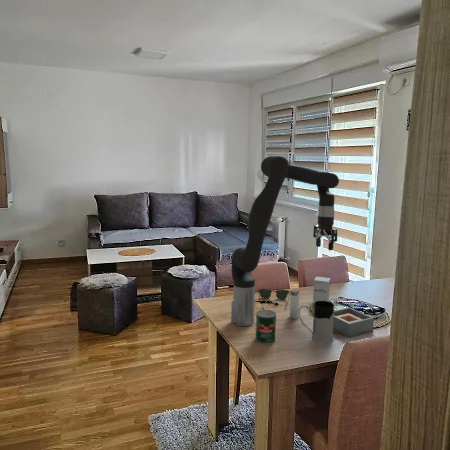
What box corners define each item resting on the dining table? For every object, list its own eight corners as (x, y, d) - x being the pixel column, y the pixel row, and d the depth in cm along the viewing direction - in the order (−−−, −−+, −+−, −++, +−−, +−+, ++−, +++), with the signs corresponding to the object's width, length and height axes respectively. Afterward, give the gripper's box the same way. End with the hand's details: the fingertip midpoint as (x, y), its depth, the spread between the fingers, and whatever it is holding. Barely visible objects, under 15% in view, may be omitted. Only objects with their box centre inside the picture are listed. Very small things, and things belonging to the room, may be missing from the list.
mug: (334, 345, 158) (336, 308, 155) (297, 342, 160) (299, 306, 158) (332, 335, 166) (334, 300, 164) (297, 333, 168) (298, 298, 166)
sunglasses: (256, 309, 196) (257, 299, 195) (257, 298, 213) (257, 288, 212) (291, 311, 194) (291, 301, 194) (289, 299, 211) (289, 290, 210)
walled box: (348, 337, 164) (349, 323, 163) (324, 325, 177) (325, 312, 176) (372, 331, 171) (373, 317, 170) (348, 319, 183) (349, 307, 182)
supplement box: (312, 304, 203) (313, 279, 201) (314, 299, 210) (315, 276, 208) (327, 306, 200) (328, 281, 198) (329, 301, 207) (330, 277, 205)
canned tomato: (261, 345, 157) (262, 318, 155) (252, 337, 164) (252, 311, 162) (279, 341, 160) (279, 315, 158) (269, 334, 167) (269, 308, 166)
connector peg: (293, 319, 183) (294, 293, 181) (287, 316, 187) (288, 291, 185) (300, 317, 185) (301, 292, 183) (294, 314, 189) (295, 290, 187)
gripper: (310, 213, 198) (308, 246, 200) (330, 217, 185) (328, 252, 188) (321, 213, 201) (320, 245, 204) (342, 216, 189) (340, 250, 191)
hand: (324, 248), depth 196 cm, fingers open, 8 cm apart
